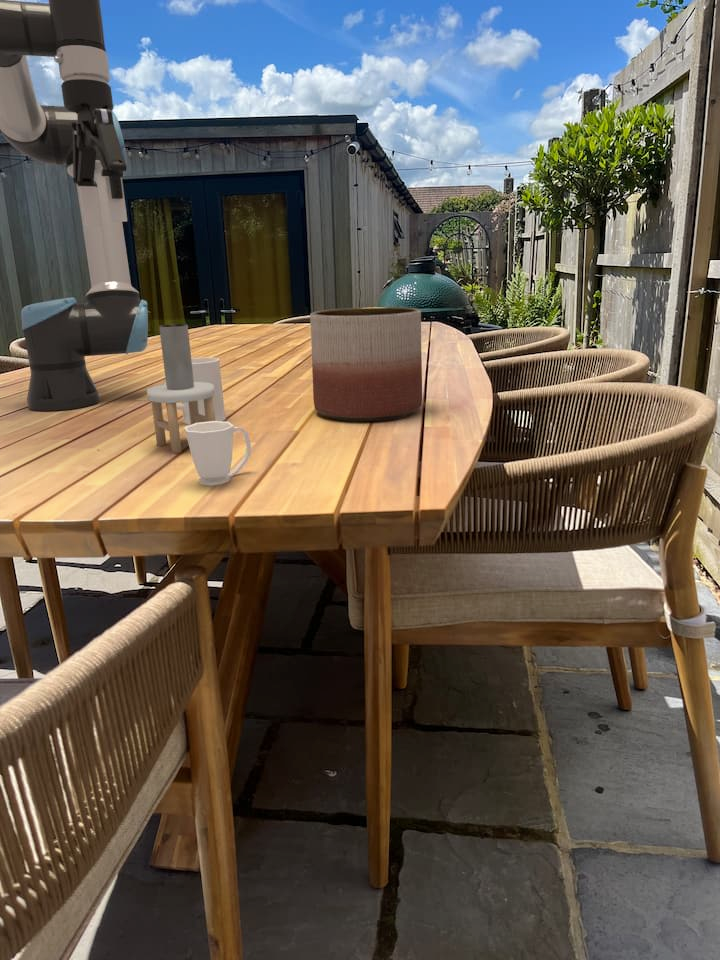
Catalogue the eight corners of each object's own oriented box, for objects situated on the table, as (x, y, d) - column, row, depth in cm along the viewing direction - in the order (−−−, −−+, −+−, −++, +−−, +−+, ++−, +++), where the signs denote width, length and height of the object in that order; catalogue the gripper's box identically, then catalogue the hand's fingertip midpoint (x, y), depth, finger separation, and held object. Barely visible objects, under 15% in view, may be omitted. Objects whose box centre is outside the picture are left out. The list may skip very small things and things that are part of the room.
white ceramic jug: (172, 430, 129) (165, 366, 125) (161, 421, 136) (154, 361, 132) (232, 421, 134) (226, 360, 131) (218, 413, 141) (212, 355, 138)
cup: (180, 481, 98) (173, 427, 95) (238, 466, 105) (233, 414, 102) (206, 492, 93) (200, 434, 91) (265, 475, 100) (261, 421, 97)
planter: (363, 429, 124) (360, 317, 118) (292, 412, 140) (286, 313, 134) (444, 410, 138) (445, 308, 132) (371, 396, 154) (369, 305, 148)
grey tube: (171, 385, 117) (164, 324, 114) (197, 384, 117) (190, 323, 114) (163, 390, 113) (155, 327, 110) (190, 389, 113) (183, 326, 109)
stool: (144, 444, 119) (137, 387, 116) (203, 433, 125) (197, 379, 122) (169, 457, 111) (161, 396, 107) (230, 445, 117) (224, 387, 114)
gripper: (41, 96, 117) (62, 227, 123) (84, 60, 98) (106, 218, 104) (86, 100, 121) (104, 227, 127) (136, 67, 102) (153, 219, 108)
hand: (105, 224), depth 116 cm, fingers open, 13 cm apart
